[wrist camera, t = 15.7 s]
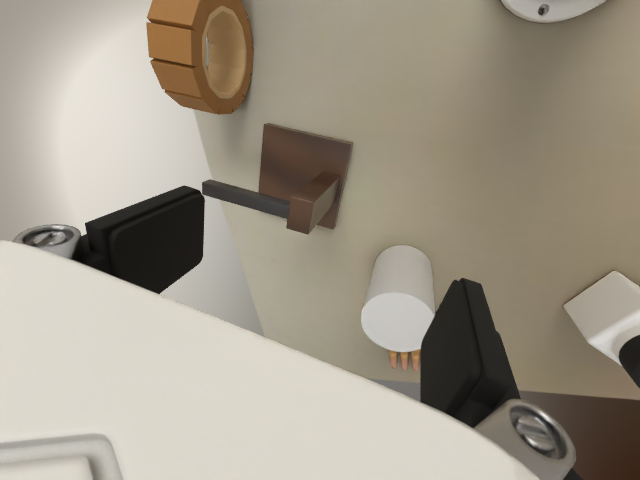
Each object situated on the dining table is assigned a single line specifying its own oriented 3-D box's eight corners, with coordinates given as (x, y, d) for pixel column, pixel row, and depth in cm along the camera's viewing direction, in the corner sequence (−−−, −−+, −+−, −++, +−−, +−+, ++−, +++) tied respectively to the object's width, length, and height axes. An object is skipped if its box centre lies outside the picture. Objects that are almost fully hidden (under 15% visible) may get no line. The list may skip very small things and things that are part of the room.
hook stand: (260, 121, 41) (201, 130, 30) (353, 142, 39) (326, 161, 28) (254, 203, 47) (202, 237, 36) (335, 226, 45) (306, 270, 33)
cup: (364, 256, 45) (348, 304, 35) (417, 236, 42) (417, 283, 31) (388, 300, 47) (380, 357, 37) (441, 284, 44) (448, 343, 33)
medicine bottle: (606, 336, 40) (672, 420, 30) (560, 305, 40) (610, 378, 30) (663, 302, 36) (761, 384, 26) (613, 268, 36) (691, 336, 26)
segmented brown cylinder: (220, -3, 37) (140, -43, 26) (256, 3, 36) (189, -36, 25) (218, 105, 42) (152, 107, 32) (250, 112, 41) (192, 116, 31)
